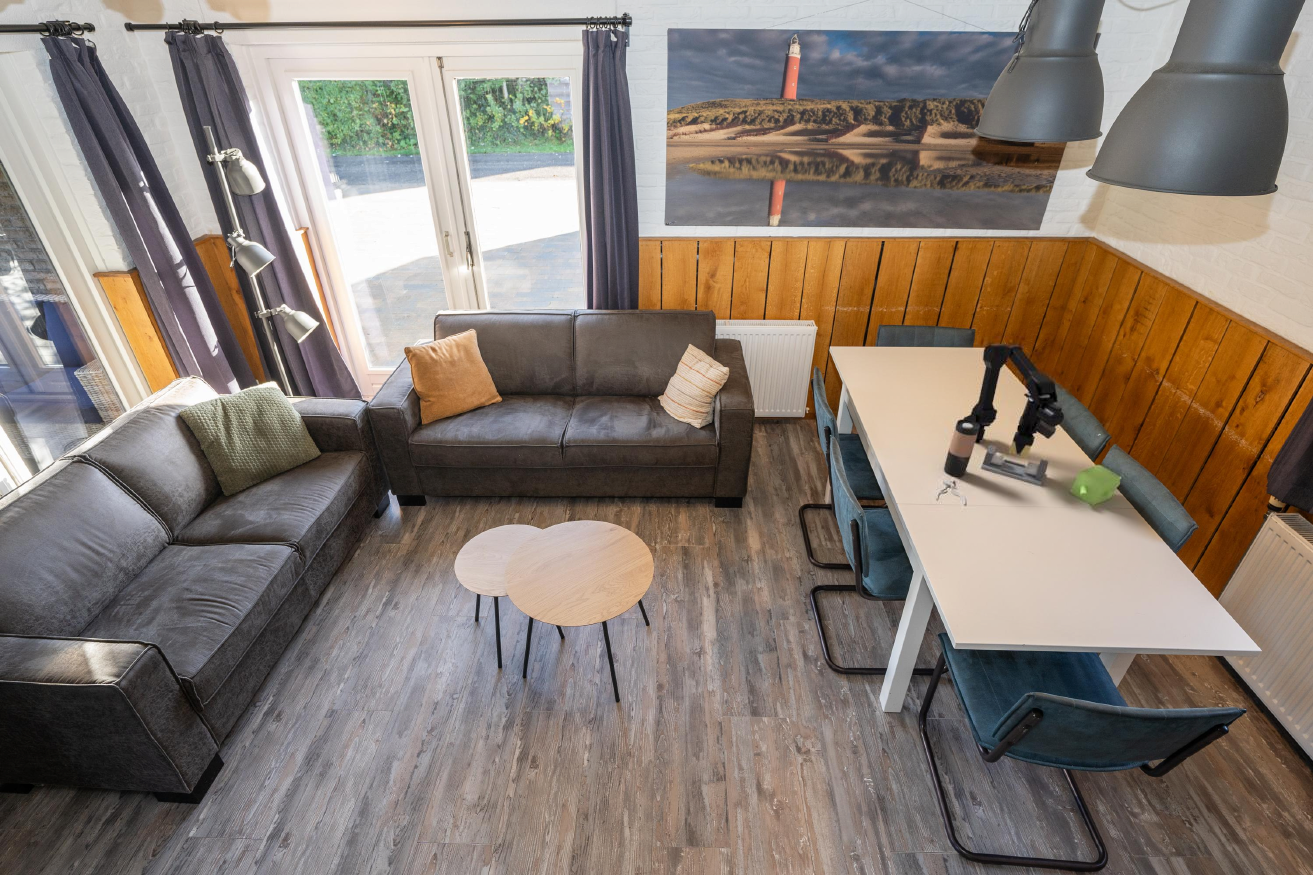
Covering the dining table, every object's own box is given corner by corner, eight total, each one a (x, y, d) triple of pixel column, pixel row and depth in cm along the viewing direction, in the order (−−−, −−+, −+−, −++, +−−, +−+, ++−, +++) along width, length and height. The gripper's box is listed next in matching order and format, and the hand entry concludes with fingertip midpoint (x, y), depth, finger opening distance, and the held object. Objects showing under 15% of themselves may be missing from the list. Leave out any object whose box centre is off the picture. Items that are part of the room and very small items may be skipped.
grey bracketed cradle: (980, 468, 246) (985, 454, 243) (985, 456, 254) (990, 442, 251) (1040, 485, 237) (1046, 471, 234) (1043, 473, 245) (1049, 459, 242)
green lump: (1087, 512, 225) (1098, 490, 220) (1061, 496, 232) (1071, 474, 227) (1120, 498, 232) (1132, 477, 227) (1094, 483, 239) (1104, 461, 234)
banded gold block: (1028, 452, 242) (1033, 439, 239) (1026, 458, 239) (1031, 444, 236) (1010, 447, 245) (1015, 434, 242) (1008, 453, 241) (1013, 439, 238)
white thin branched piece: (936, 496, 228) (933, 473, 240) (934, 500, 229) (932, 477, 241) (966, 502, 226) (962, 478, 238) (965, 506, 226) (961, 482, 239)
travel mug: (965, 469, 246) (980, 422, 236) (964, 479, 240) (979, 431, 230) (943, 464, 248) (957, 417, 238) (942, 474, 242) (956, 426, 232)
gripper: (1055, 430, 223) (1040, 469, 231) (1060, 408, 236) (1046, 445, 244) (1019, 420, 228) (1006, 459, 236) (1026, 400, 241) (1013, 437, 249)
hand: (1019, 450), depth 241 cm, fingers closed on banded gold block, 5 cm apart
